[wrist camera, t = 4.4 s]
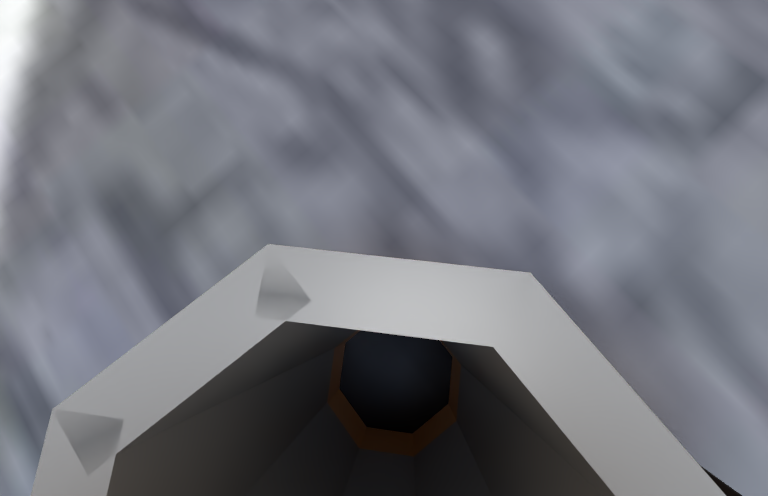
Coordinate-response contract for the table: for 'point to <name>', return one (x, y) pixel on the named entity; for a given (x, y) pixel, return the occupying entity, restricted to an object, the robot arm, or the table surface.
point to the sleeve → (336, 415)
